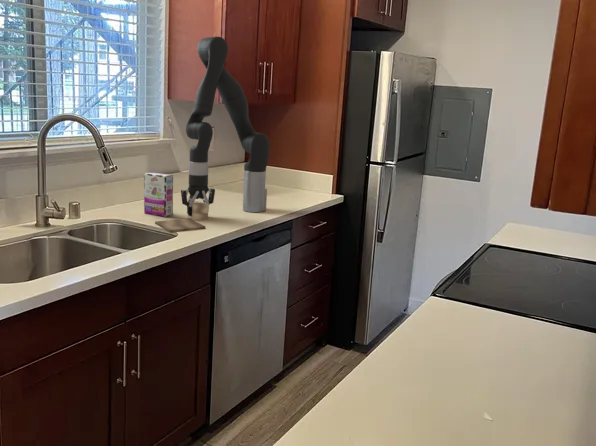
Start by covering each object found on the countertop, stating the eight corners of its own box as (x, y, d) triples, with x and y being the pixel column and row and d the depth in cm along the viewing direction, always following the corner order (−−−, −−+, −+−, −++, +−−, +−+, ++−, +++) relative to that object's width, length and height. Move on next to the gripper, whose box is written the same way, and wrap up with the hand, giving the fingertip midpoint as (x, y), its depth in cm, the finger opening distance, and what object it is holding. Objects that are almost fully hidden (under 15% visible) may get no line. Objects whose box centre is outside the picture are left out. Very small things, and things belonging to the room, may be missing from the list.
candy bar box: (173, 215, 236) (173, 174, 232) (165, 217, 231) (165, 176, 227) (152, 211, 241) (152, 171, 237) (143, 213, 236) (143, 172, 232)
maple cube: (201, 215, 238) (201, 201, 237) (208, 218, 233) (208, 204, 232) (187, 216, 235) (187, 202, 233) (194, 220, 230) (194, 205, 228)
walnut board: (189, 220, 229) (189, 218, 229) (205, 228, 218) (205, 226, 217) (155, 223, 221) (155, 221, 221) (169, 232, 210) (169, 230, 210)
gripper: (210, 170, 237) (209, 211, 241) (177, 172, 229) (177, 214, 233) (219, 173, 231) (218, 215, 235) (185, 175, 223) (184, 218, 227)
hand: (197, 214), depth 234 cm, fingers closed on maple cube, 6 cm apart
